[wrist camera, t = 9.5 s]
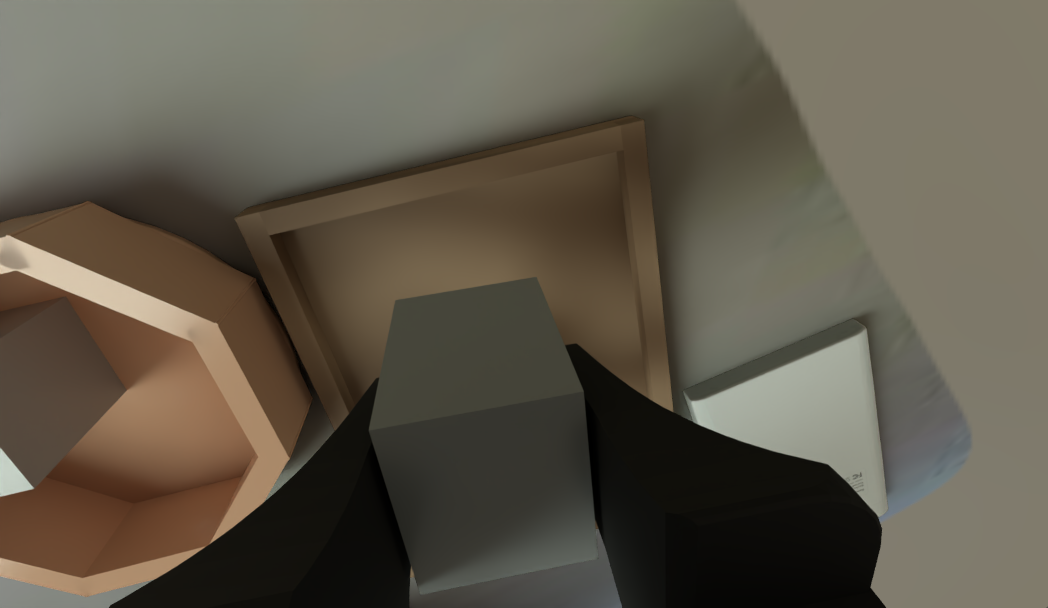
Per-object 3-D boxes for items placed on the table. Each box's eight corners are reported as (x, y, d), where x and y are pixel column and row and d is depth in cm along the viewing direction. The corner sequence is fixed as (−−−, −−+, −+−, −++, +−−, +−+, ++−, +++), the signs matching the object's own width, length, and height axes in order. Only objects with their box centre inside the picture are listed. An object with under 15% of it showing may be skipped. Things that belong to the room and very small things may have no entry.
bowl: (349, 459, 23) (331, 534, 20) (56, 534, 23) (-17, 623, 19) (211, 169, 17) (151, 200, 14) (-182, 263, 17) (-349, 319, 14)
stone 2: (552, 407, 15) (597, 558, 10) (427, 429, 15) (420, 595, 10) (536, 276, 13) (583, 391, 9) (395, 300, 13) (369, 430, 8)
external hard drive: (845, 312, 24) (871, 491, 30) (677, 383, 25) (733, 546, 30) (870, 329, 23) (893, 514, 28) (692, 404, 23) (748, 572, 29)
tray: (672, 486, 27) (682, 506, 25) (406, 555, 26) (405, 579, 25) (631, 115, 19) (644, 119, 17) (248, 207, 18) (234, 218, 17)
